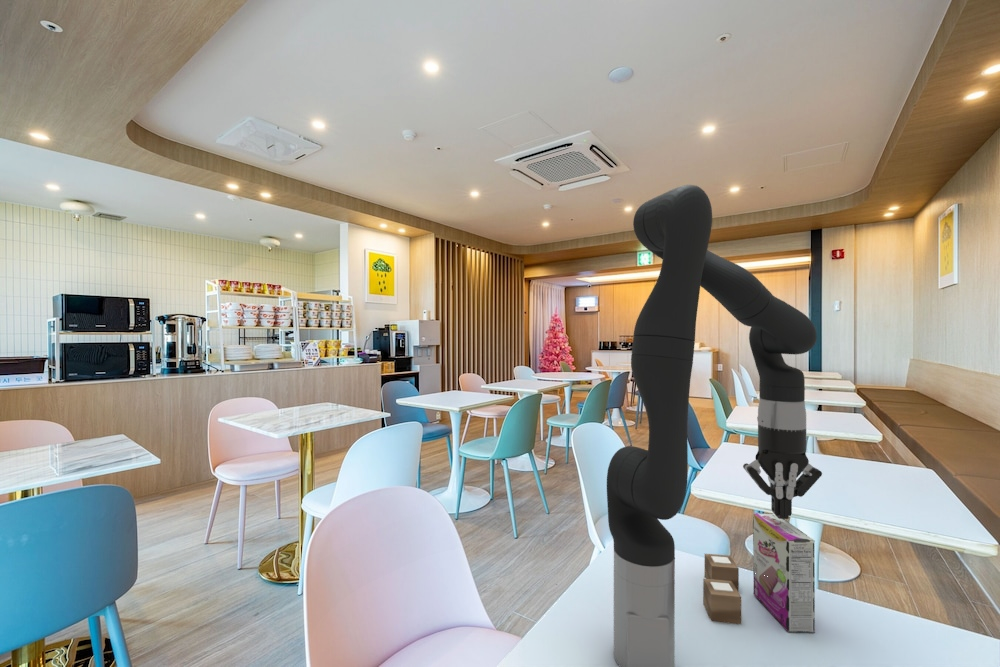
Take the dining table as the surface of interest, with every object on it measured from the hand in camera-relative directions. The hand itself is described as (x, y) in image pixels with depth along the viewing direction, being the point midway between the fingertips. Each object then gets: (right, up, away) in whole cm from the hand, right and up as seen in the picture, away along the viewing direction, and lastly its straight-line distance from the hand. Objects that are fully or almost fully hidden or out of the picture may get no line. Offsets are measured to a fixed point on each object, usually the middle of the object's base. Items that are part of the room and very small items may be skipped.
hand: (781, 517), depth 81 cm
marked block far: (-7, -18, +9) cm, 21 cm away
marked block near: (-11, -18, 0) cm, 21 cm away
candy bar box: (0, -18, 0) cm, 18 cm away
